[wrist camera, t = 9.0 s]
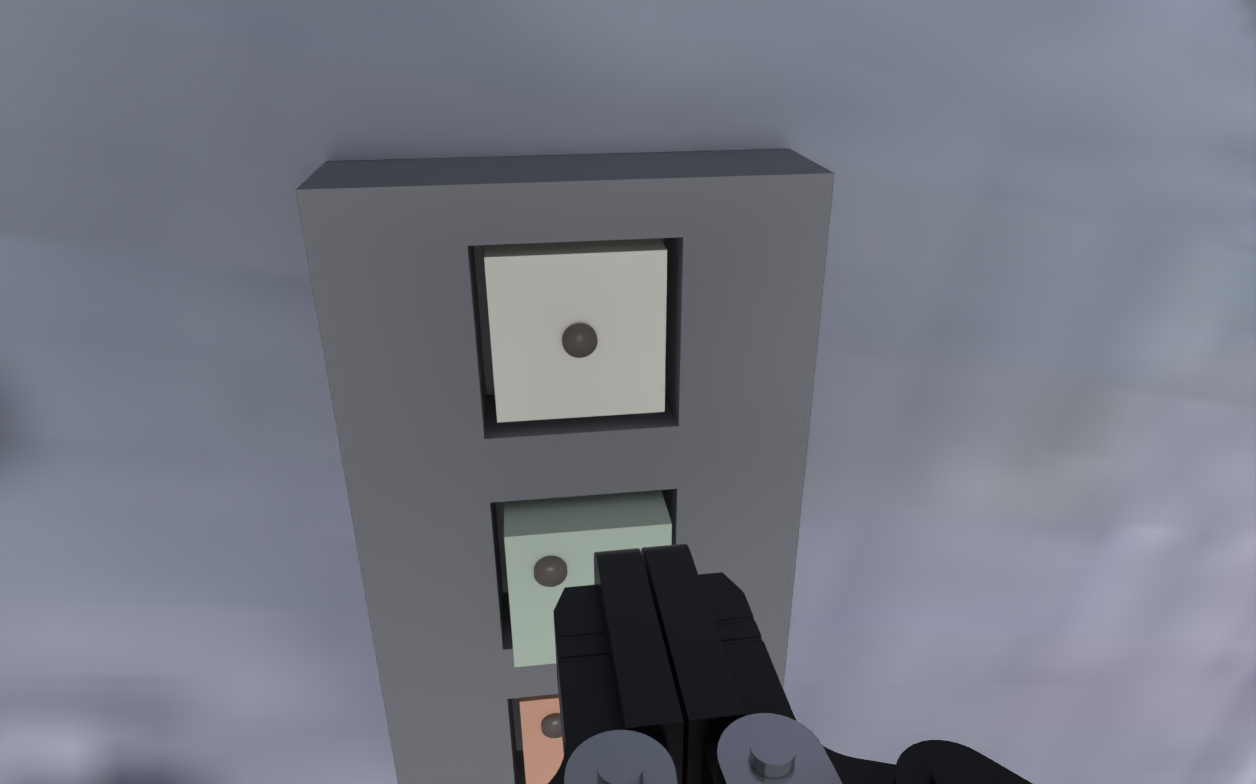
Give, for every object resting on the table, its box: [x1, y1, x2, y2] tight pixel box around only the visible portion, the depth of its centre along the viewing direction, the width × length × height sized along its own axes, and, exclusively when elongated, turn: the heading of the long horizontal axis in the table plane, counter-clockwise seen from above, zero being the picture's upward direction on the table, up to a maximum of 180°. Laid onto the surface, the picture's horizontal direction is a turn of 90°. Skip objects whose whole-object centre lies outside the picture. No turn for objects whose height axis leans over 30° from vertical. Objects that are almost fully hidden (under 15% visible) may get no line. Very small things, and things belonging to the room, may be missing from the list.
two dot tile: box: [504, 490, 672, 667], centre depth 27 cm, size 5×5×3 cm
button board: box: [296, 149, 834, 784], centre depth 29 cm, size 25×14×4 cm, turn 1°
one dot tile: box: [484, 238, 667, 423], centre depth 25 cm, size 5×5×3 cm
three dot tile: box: [519, 694, 564, 784], centre depth 32 cm, size 5×5×3 cm
